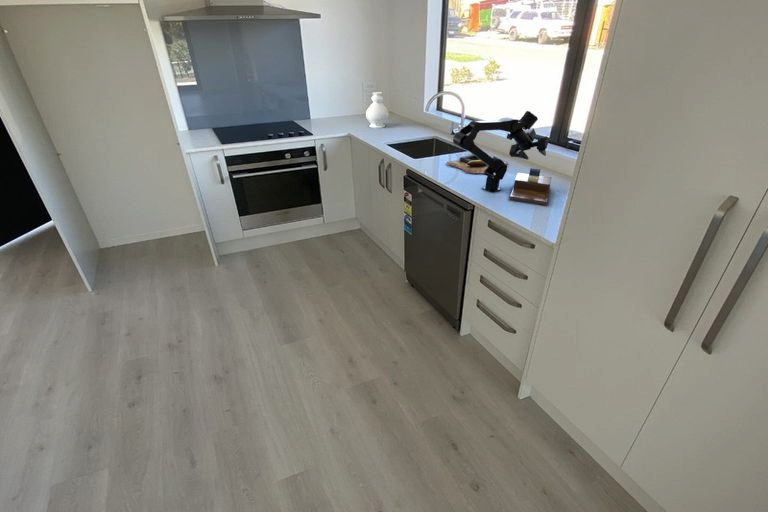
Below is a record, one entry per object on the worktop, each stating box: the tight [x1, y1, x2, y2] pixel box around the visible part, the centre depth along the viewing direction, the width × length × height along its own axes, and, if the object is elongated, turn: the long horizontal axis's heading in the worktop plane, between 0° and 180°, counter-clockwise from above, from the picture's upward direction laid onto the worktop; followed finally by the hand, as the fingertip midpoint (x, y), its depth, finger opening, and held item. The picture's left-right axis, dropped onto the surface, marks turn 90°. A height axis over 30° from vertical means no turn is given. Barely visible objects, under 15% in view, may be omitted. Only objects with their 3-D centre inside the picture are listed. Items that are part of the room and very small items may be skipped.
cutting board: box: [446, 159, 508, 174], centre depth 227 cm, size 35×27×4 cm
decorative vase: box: [365, 91, 390, 129], centre depth 309 cm, size 18×18×25 cm
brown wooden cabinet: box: [509, 172, 552, 207], centre depth 188 cm, size 24×16×6 cm, turn 157°
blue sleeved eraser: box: [528, 167, 542, 182], centre depth 190 cm, size 9×5×4 cm, turn 157°
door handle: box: [458, 153, 480, 163], centre depth 233 cm, size 3×20×16 cm
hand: (536, 157), depth 195 cm, fingers open, 9 cm apart
